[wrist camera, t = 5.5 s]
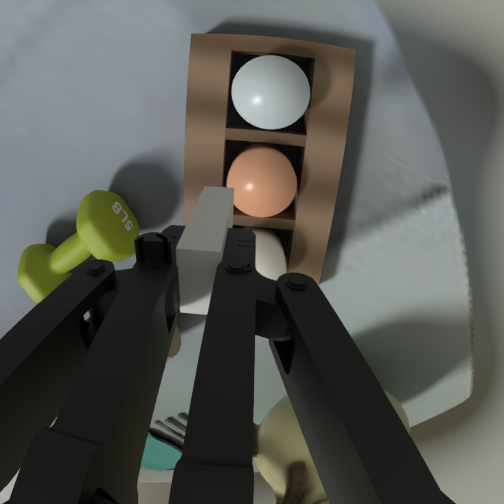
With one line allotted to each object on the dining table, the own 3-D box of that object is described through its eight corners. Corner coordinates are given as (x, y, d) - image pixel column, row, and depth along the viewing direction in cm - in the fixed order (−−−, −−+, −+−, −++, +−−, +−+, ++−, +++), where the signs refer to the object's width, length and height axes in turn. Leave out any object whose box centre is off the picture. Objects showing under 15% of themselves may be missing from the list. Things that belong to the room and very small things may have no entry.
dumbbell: (115, 174, 32) (83, 197, 25) (155, 234, 35) (133, 267, 28) (33, 240, 36) (2, 268, 29) (67, 286, 39) (42, 319, 33)
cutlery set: (89, 431, 59) (87, 439, 57) (176, 403, 51) (174, 414, 49) (151, 467, 67) (150, 475, 65) (244, 447, 58) (244, 456, 56)
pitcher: (403, 400, 49) (436, 521, 27) (287, 440, 55) (289, 556, 33) (371, 323, 40) (425, 498, 18) (222, 381, 46) (202, 537, 24)
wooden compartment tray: (197, 38, 25) (191, 33, 22) (347, 53, 25) (356, 49, 22) (190, 278, 37) (185, 293, 35) (311, 288, 37) (314, 303, 35)
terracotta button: (232, 140, 29) (228, 147, 26) (295, 146, 30) (300, 154, 26) (228, 199, 32) (225, 214, 29) (288, 204, 32) (292, 220, 29)
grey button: (238, 57, 25) (234, 52, 21) (306, 64, 25) (313, 60, 21) (233, 121, 27) (229, 126, 24) (299, 127, 28) (305, 133, 24)
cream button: (226, 222, 32) (222, 240, 29) (287, 227, 32) (290, 246, 29) (224, 273, 35) (220, 295, 31) (279, 278, 35) (281, 300, 32)
